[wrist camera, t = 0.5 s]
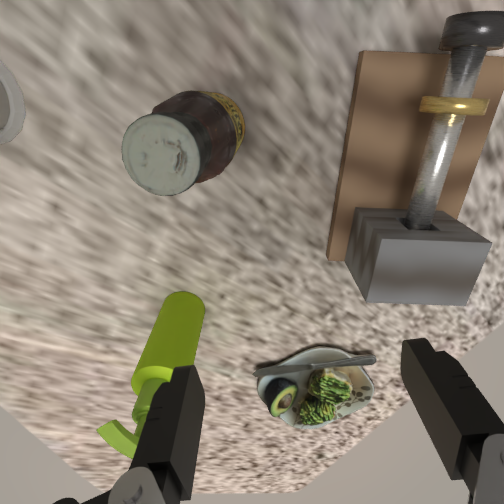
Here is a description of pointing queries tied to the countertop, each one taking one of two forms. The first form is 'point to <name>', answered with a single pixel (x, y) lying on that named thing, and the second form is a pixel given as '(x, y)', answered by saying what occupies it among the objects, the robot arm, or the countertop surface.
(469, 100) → the shaft
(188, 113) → the sauce bottle
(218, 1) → the countertop surface
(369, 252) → the bearing block
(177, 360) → the soap dispenser
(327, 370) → the salad plate
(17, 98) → the french press
